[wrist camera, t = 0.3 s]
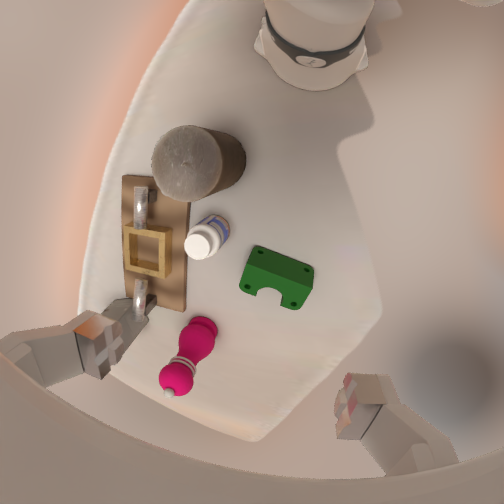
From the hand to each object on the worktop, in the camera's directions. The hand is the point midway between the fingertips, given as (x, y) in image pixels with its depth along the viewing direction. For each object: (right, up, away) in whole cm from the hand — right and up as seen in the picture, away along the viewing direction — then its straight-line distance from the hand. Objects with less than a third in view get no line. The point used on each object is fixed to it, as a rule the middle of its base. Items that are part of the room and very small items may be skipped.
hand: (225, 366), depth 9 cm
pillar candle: (-5, +19, +35) cm, 40 cm away
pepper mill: (-9, -12, +47) cm, 50 cm away
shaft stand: (-18, +5, +42) cm, 46 cm away
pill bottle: (-6, +8, +39) cm, 41 cm away
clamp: (+5, 0, +40) cm, 41 cm away
